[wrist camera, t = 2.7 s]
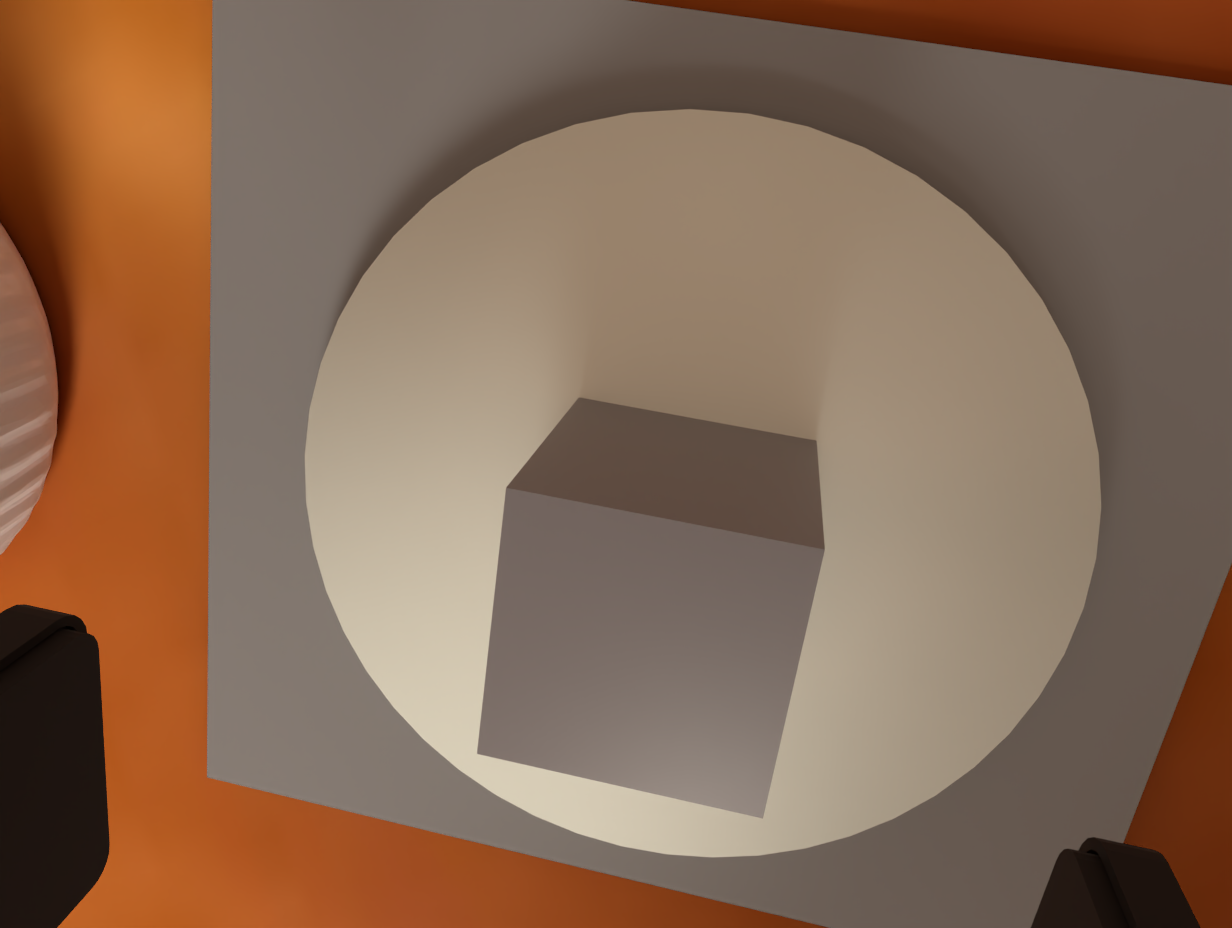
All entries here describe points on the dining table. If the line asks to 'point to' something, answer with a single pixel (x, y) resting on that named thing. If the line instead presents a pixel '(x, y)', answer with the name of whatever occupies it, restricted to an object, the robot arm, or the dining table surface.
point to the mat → (792, 92)
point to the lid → (702, 483)
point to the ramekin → (23, 393)
